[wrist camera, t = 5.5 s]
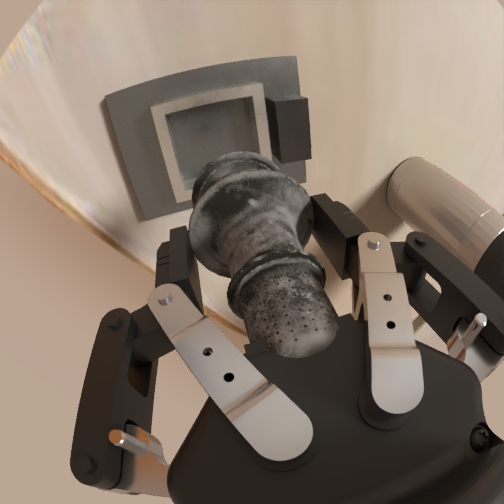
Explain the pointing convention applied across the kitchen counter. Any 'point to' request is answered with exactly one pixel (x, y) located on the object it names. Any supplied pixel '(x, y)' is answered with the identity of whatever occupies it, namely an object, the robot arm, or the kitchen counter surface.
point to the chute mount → (208, 126)
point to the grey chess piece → (263, 252)
